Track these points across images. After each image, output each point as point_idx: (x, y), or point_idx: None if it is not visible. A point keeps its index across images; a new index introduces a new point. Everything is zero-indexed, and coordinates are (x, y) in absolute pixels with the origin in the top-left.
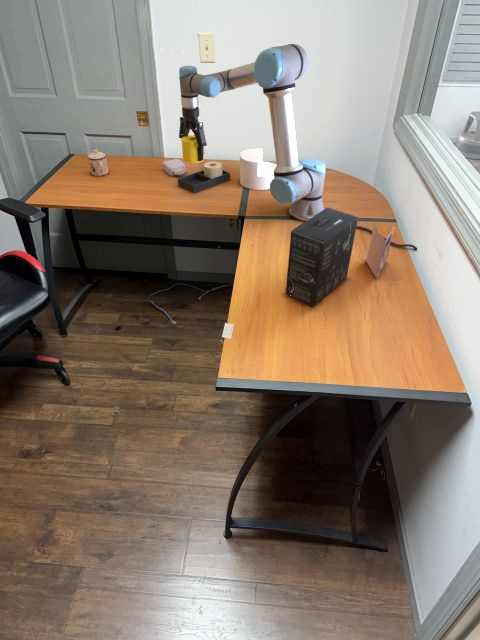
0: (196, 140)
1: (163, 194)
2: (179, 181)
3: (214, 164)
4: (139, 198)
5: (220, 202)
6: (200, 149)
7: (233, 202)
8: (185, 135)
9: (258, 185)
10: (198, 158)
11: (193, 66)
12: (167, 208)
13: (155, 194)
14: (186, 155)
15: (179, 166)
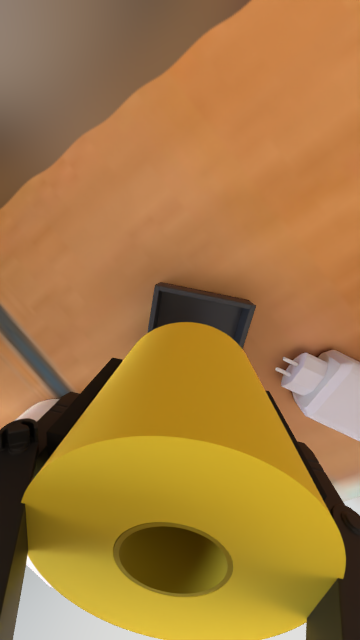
0: (22, 524)
1: (249, 202)
2: (243, 301)
3: None
4: (320, 91)
5: (46, 278)
6: (49, 421)
7: (20, 302)
8: (328, 615)
9: (25, 413)
10: (109, 367)
11: None
12: (147, 102)
13: (279, 179)
14: (182, 339)
15: (319, 394)
